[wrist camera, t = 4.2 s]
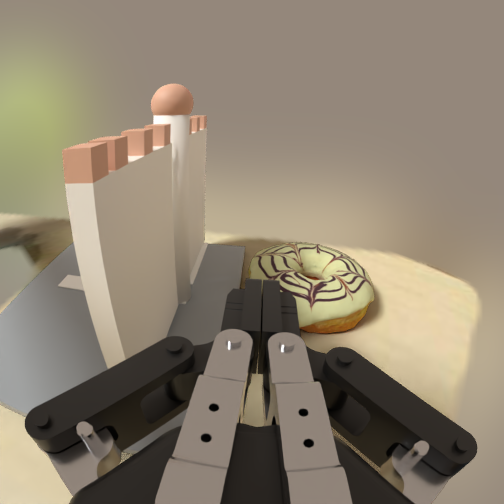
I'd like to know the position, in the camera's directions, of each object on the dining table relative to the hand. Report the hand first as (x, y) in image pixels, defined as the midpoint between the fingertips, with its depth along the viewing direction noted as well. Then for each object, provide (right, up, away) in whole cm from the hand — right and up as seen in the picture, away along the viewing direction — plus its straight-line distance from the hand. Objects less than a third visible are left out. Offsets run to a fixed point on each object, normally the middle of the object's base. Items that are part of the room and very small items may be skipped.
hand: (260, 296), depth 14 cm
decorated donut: (+4, -2, +13) cm, 14 cm away
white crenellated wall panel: (-7, -4, +5) cm, 9 cm away
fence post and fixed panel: (-6, 0, +15) cm, 16 cm away
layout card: (-12, -3, +9) cm, 15 cm away
